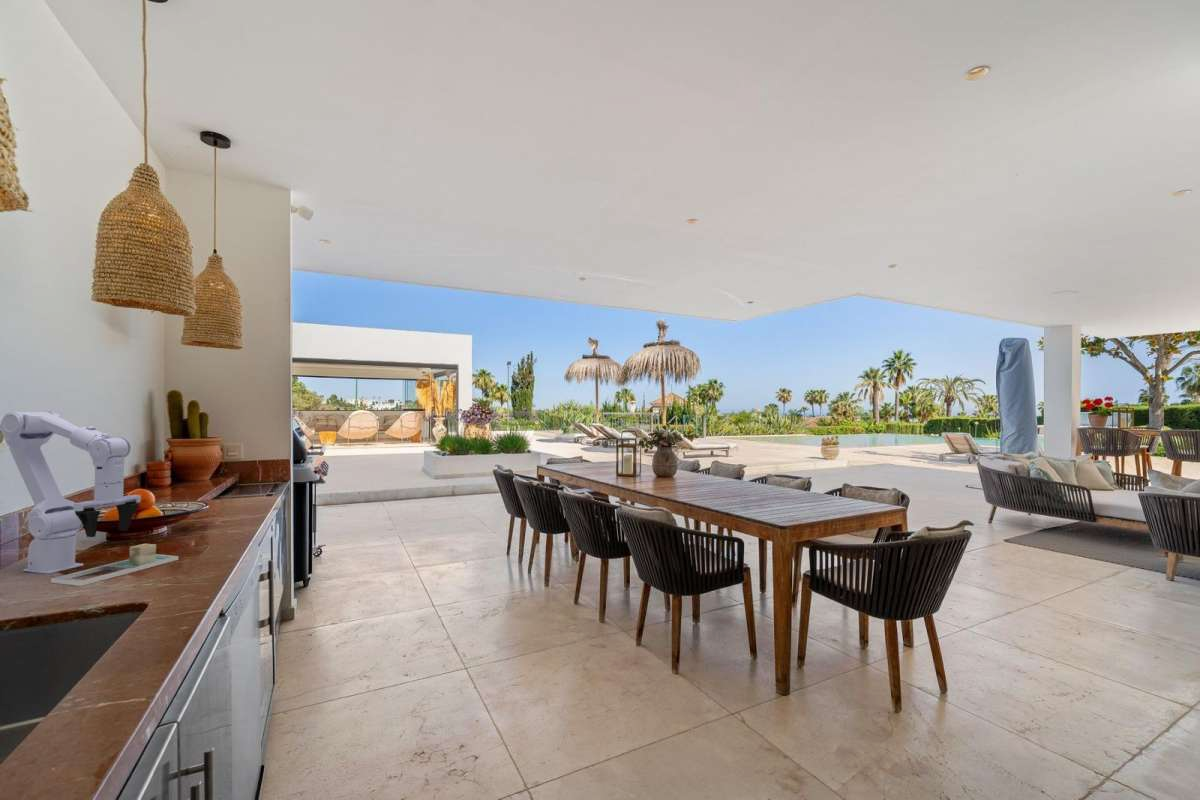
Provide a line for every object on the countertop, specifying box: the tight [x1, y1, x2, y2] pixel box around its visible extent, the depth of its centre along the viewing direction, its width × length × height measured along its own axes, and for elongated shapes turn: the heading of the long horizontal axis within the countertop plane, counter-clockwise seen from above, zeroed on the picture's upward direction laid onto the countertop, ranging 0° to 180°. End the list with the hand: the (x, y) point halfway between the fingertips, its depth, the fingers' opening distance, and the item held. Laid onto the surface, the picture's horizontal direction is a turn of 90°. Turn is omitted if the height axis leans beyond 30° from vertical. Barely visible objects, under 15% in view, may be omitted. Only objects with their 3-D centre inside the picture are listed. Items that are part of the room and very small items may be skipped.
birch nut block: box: [128, 543, 157, 566], centre depth 146 cm, size 4×4×5 cm
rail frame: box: [50, 553, 179, 587], centre depth 141 cm, size 10×24×1 cm, turn 167°
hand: (107, 533), depth 141 cm, fingers open, 7 cm apart
